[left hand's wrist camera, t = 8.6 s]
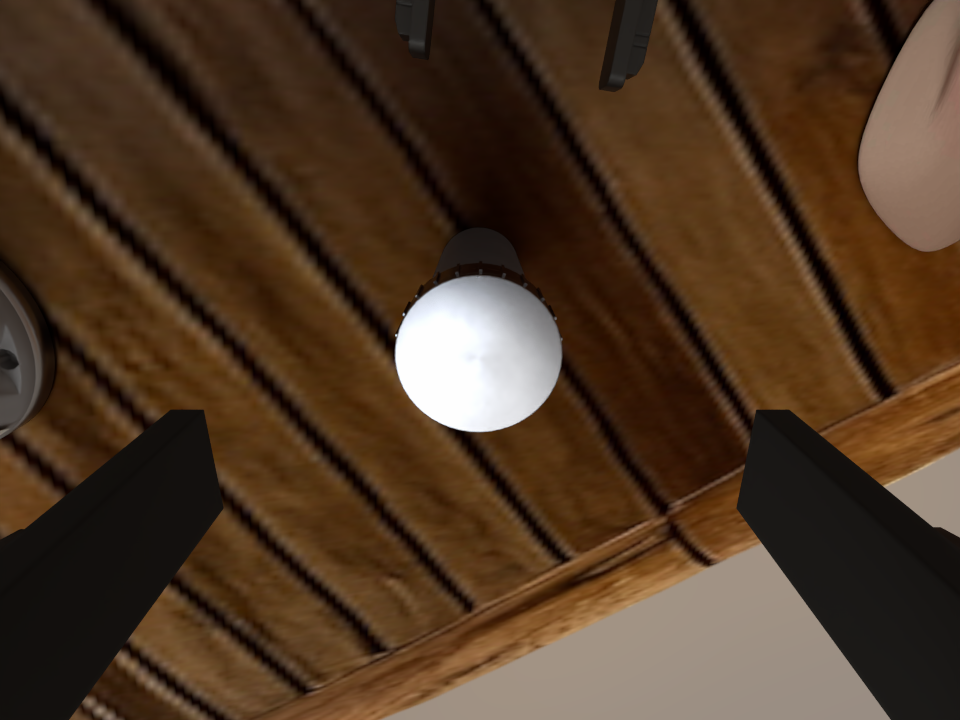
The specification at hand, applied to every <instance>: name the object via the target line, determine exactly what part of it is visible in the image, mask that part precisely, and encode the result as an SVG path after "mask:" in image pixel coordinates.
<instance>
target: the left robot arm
mask: <svg viewBox="0 0 960 720" xmlns="http://www.w3.org/2000/svg"><path fill="white" fill-rule="evenodd" d="M54 372H55V356H54V348H53V344H52V339H51V335H50V332H49V329H48V326H47V324H46V322H45V319H44V317H43V315H42V313H41V311H40V309H39V307H38V305H37V304H36V302H35V301H34V299H33V297H32V296H31V294H30V293H29V292H28V290H27V289H26V288H25V286H24V285H23V284H22V282H21V281H20V280H19V279H18V278H17V277H16V276H15V274H14V273H13V272H12V271H11V270H10V269H9V268H8V267H7V266H6V265H5V264H4V263H3V262H1V261H0V439H1V438H2V437H4V436H6V435H7V434H9V433H11V432H13V431H14V430H16V429H18V428H19V427H21V426H23V425H24V424H26V423H27V422H28V421H30V420H31V419H32V418H33V417H34V416H35V415H36V414H37V413H38V412H39V411H40V409H41V408H42V407H43V405H44V404H45V402H46V400H47V398H48V396H49V393H50V391H51V388H52V384H53V380H54ZM222 510H223V503H222V498H221V493H220V488H219V483H218V478H217V474H216V469H215V464H214V459H213V454H212V449H211V444H210V439H209V434H208V429H207V424H206V419H205V414H204V410H170V411H169V412H168V413H166V414H165V415H164V416H163V417H161V418H160V419H159V420H158V421H157V422H155V423H154V424H153V425H152V426H150V427H149V428H148V429H147V430H146V431H144V432H143V433H142V434H141V435H139V436H138V437H137V438H136V439H135V440H133V441H132V442H131V443H130V444H128V445H127V446H126V447H125V448H123V449H122V450H121V451H120V452H119V453H117V454H116V455H115V456H114V457H112V458H111V459H110V460H109V461H108V462H106V463H105V464H104V465H103V466H101V467H100V468H99V469H98V470H97V471H95V472H94V473H93V474H92V475H90V476H89V477H88V478H87V479H86V480H84V481H83V482H82V483H81V484H79V485H78V486H77V487H76V488H75V489H73V490H72V491H71V492H70V493H68V494H67V495H66V496H65V497H64V498H62V499H61V500H60V501H59V502H57V503H56V504H55V505H54V506H52V507H51V508H50V509H49V510H48V511H46V512H45V513H44V514H43V515H41V516H40V517H39V518H38V519H37V520H35V521H34V522H33V523H32V524H30V525H29V526H28V527H27V528H26V529H20V530H18V531H16V532H14V533H12V534H10V535H9V536H7V537H5V538H3V539H1V540H0V720H69V719H70V718H71V716H72V715H73V714H74V712H75V711H76V709H77V708H78V707H79V705H80V704H81V703H82V701H83V700H84V699H85V697H86V696H87V694H88V693H89V692H90V690H91V689H92V688H93V686H94V685H95V683H96V682H97V681H98V679H99V678H100V677H101V675H102V674H103V673H104V671H105V670H106V668H107V667H108V666H109V664H110V663H111V662H112V660H113V659H114V657H115V656H116V655H117V653H118V652H119V651H120V649H121V648H122V647H123V645H124V644H125V642H126V641H127V640H128V638H129V637H130V636H131V634H132V633H133V631H134V630H135V629H136V627H137V626H138V625H139V623H140V622H141V621H142V619H143V618H144V616H145V615H146V614H147V612H148V611H149V610H150V608H151V607H152V605H153V604H154V603H155V601H156V600H157V599H158V597H159V596H160V595H161V593H162V592H163V590H164V589H165V588H166V586H167V585H168V584H169V582H170V581H171V579H172V578H173V577H174V575H175V574H176V573H177V571H178V570H179V569H180V567H181V566H182V564H183V563H184V562H185V560H186V559H187V558H188V556H189V555H190V553H191V552H192V551H193V549H194V548H195V547H196V545H197V544H198V543H199V541H200V540H201V538H202V537H203V536H204V534H205V533H206V532H207V530H208V529H209V527H210V526H211V525H212V523H213V522H214V521H215V519H216V518H217V517H218V515H219V514H220V512H221V511H222ZM737 510H738V511H739V512H740V514H741V515H742V517H743V518H744V519H745V521H746V522H747V523H748V525H749V526H750V527H751V529H752V530H753V532H754V533H755V534H756V536H757V537H758V538H759V540H760V541H761V543H762V544H763V545H764V547H765V548H766V549H767V551H768V552H769V553H770V555H771V556H772V558H773V559H774V560H775V562H776V563H777V564H778V566H779V567H780V568H781V570H782V571H783V573H784V574H785V575H786V577H787V578H788V579H789V581H790V582H791V584H792V585H793V586H794V588H795V589H796V590H797V592H798V593H799V594H800V596H801V597H802V599H803V600H804V601H805V603H806V604H807V605H808V607H809V608H810V610H811V611H812V612H813V614H814V615H815V616H816V618H817V619H818V620H819V622H820V623H821V625H822V626H823V627H824V629H825V630H826V631H827V633H828V634H829V636H830V637H831V638H832V640H833V641H834V642H835V644H836V645H837V646H838V648H839V649H840V650H841V652H842V653H843V655H844V656H845V657H846V659H847V660H848V661H849V663H850V664H851V666H852V667H853V668H854V670H855V671H856V673H857V674H858V675H859V677H860V678H861V679H862V681H863V682H864V683H865V685H866V686H867V688H868V689H869V690H870V692H871V693H872V694H873V696H874V697H875V699H876V700H877V701H878V702H879V704H880V705H881V707H882V708H883V709H884V711H885V712H886V714H887V715H888V716H889V718H890V719H891V720H960V538H959V537H958V536H956V535H954V534H952V533H950V532H948V531H946V530H945V529H943V528H941V527H932V526H931V525H929V524H928V523H927V522H926V521H925V520H923V519H922V518H921V517H920V516H919V515H917V514H916V513H915V512H914V511H912V510H911V509H910V508H909V507H908V506H906V505H905V504H904V503H903V502H901V501H900V500H899V499H898V498H896V497H895V496H894V495H893V494H892V493H890V492H889V491H888V490H887V489H885V488H884V487H883V486H882V485H881V484H879V483H878V482H877V481H876V480H874V479H873V478H872V477H871V476H870V475H868V474H867V473H866V472H865V471H863V470H862V469H861V468H860V467H859V466H857V465H856V464H855V463H854V462H852V461H851V460H850V459H849V458H848V457H846V456H845V455H844V454H843V453H841V452H840V451H839V450H838V449H837V448H835V447H834V446H833V445H832V444H830V443H829V442H828V441H827V440H825V439H824V438H823V437H822V436H821V435H819V434H818V433H817V432H816V431H814V430H813V429H812V428H811V427H810V426H808V425H807V424H806V423H805V422H803V421H802V420H801V419H800V418H799V417H797V416H796V415H795V414H794V413H792V412H791V411H790V410H756V414H755V419H754V424H753V429H752V434H751V439H750V444H749V449H748V454H747V459H746V464H745V469H744V474H743V479H742V483H741V488H740V493H739V498H738V503H737Z"/></svg>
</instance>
